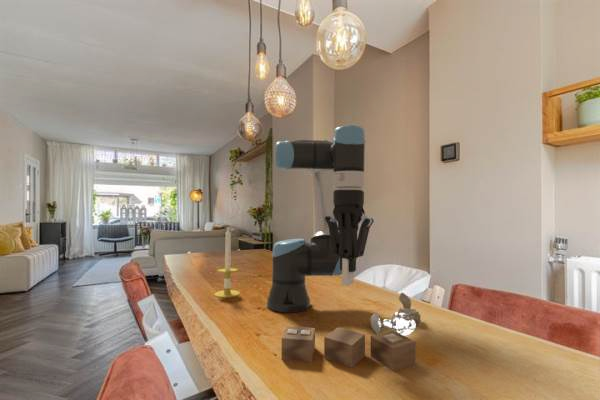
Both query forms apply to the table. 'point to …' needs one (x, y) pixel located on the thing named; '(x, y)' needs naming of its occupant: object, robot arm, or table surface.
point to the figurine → (394, 323)
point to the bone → (408, 308)
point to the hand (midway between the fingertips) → (347, 284)
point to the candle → (227, 271)
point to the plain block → (344, 347)
